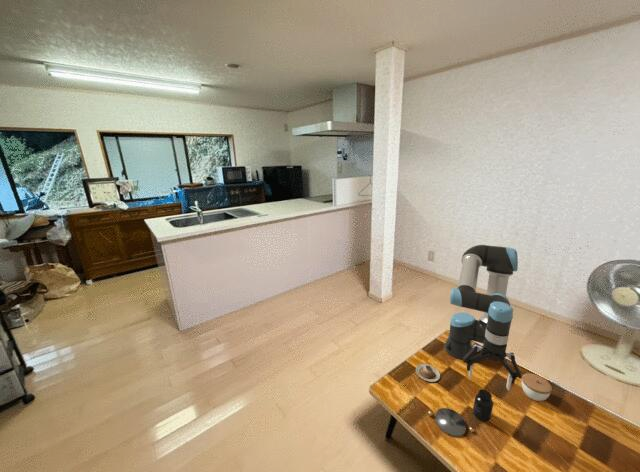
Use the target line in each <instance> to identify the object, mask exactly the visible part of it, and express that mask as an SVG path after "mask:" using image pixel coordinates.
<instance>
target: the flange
mask: <svg viewBox="0 0 640 472" xmlns="http://www.w3.org/2000/svg"><path fill="white" fill-rule="evenodd" d="M427 415H428V417H430V418H433V417H434V419H435V420H434V421H435V424H436V425H437V427H438V428H439V430H441V431H442V432H443V433H444V434H446V435H447V436H450V437H455V438H456V437H458V438H461V437H463V436H464V435H465V434H466V432H467V422H466V420H465V418H463V416H462V415H461V414H460V413H458V412H457V411H455V410H454V409H451V408H448V407H442V408H439V409H437V411H436V412H435V414H434V411H433V410H431V409H429V410H427ZM468 432H469V433H470V434H475V427H474V426H472V425H469V427H468Z"/></svg>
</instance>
